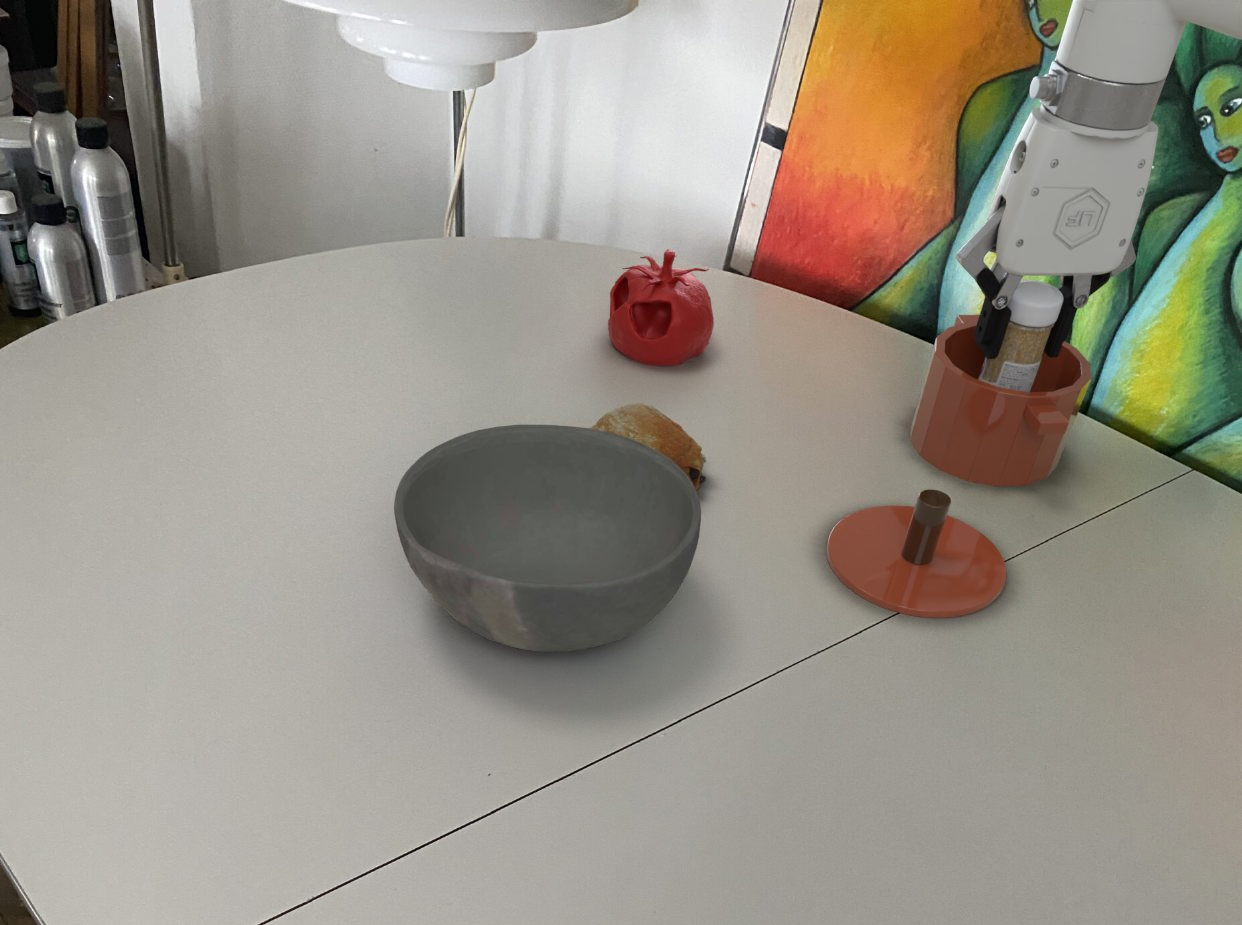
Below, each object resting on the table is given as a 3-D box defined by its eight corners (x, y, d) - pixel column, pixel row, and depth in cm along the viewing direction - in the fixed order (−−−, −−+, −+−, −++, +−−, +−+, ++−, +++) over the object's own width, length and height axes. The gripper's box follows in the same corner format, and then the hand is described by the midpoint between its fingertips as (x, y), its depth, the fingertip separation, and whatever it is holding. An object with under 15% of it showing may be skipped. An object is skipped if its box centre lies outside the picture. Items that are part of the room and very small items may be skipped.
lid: (963, 514, 98) (986, 445, 93) (1030, 619, 89) (1059, 548, 85) (803, 521, 96) (819, 451, 91) (855, 630, 87) (876, 558, 83)
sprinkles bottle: (954, 430, 106) (1002, 274, 96) (1006, 435, 106) (1060, 280, 96) (960, 457, 103) (1010, 299, 93) (1013, 463, 103) (1069, 306, 93)
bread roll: (616, 483, 104) (584, 395, 99) (727, 462, 99) (698, 369, 94) (577, 544, 98) (540, 453, 93) (693, 525, 93) (660, 429, 88)
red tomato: (667, 318, 117) (677, 217, 110) (730, 363, 112) (746, 260, 105) (582, 340, 113) (588, 237, 106) (644, 387, 108) (654, 282, 101)
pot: (1008, 397, 112) (1039, 305, 105) (1092, 507, 100) (1133, 412, 94) (879, 400, 109) (903, 307, 103) (950, 514, 98) (982, 416, 92)
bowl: (737, 599, 89) (759, 478, 81) (581, 754, 77) (591, 629, 69) (515, 501, 95) (517, 380, 88) (341, 630, 83) (326, 503, 76)
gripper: (1008, 114, 80) (933, 376, 94) (1236, 117, 83) (1131, 371, 97) (967, 76, 85) (901, 330, 99) (1184, 80, 88) (1091, 326, 102)
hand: (1016, 348), depth 98 cm, fingers closed on sprinkles bottle, 4 cm apart
